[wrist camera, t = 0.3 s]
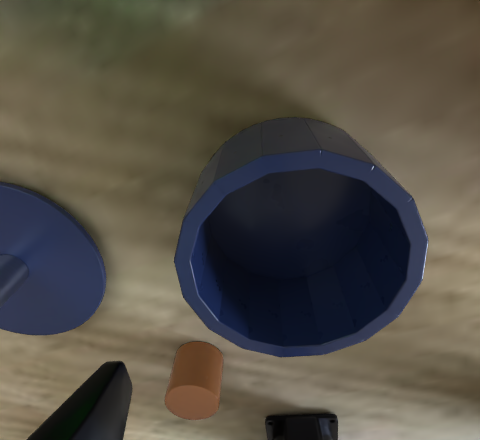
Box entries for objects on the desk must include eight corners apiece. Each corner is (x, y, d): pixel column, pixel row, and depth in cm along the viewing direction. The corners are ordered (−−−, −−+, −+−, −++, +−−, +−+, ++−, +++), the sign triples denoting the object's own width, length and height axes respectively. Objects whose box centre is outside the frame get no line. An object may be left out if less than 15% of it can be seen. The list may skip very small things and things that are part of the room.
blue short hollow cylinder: (375, 276, 24) (412, 350, 19) (211, 288, 25) (199, 362, 20) (387, 105, 19) (444, 135, 13) (179, 129, 20) (149, 167, 14)
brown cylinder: (226, 373, 30) (222, 419, 26) (180, 375, 30) (171, 421, 26) (219, 339, 28) (214, 384, 24) (170, 342, 28) (158, 386, 25)
